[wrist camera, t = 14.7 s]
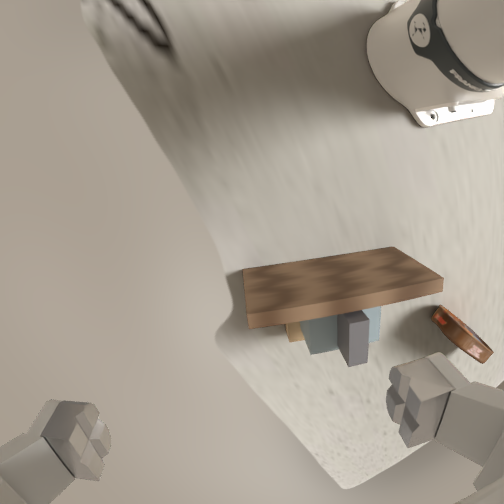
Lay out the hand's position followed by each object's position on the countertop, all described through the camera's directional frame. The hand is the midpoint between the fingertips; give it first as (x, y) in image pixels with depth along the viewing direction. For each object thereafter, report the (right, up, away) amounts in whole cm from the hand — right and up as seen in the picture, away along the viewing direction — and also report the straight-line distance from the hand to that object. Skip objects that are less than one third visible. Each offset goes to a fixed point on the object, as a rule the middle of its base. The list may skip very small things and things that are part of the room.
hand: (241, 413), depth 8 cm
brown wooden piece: (+10, -1, +33) cm, 35 cm away
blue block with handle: (+10, -2, +30) cm, 32 cm away
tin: (+33, -8, +37) cm, 50 cm away
